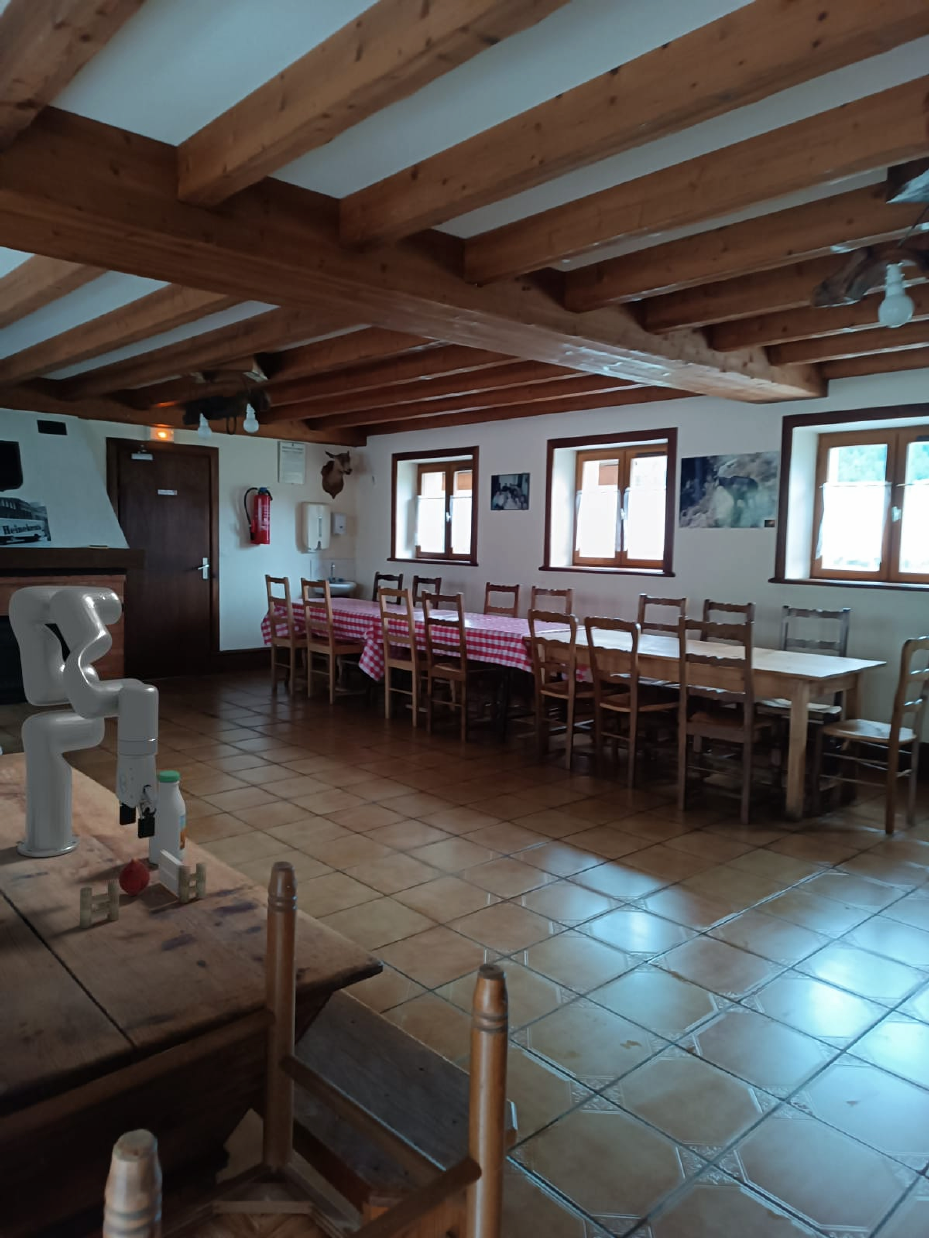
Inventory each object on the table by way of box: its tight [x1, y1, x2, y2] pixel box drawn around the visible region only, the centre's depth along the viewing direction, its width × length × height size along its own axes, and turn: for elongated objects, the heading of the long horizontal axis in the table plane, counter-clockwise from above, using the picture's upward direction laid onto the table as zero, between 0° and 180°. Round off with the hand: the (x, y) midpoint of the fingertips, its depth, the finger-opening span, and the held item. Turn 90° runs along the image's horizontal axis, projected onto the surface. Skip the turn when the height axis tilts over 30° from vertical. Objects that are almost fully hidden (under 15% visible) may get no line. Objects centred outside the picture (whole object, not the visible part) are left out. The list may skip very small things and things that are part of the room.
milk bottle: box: [148, 770, 187, 866], centre depth 192 cm, size 8×8×20 cm
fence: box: [79, 861, 207, 929], centre depth 166 cm, size 2×24×7 cm, turn 131°
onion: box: [118, 856, 151, 897], centre depth 172 cm, size 6×6×8 cm
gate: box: [157, 850, 185, 897], centre depth 176 cm, size 10×1×6 cm, turn 42°
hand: (136, 830), depth 171 cm, fingers open, 9 cm apart
